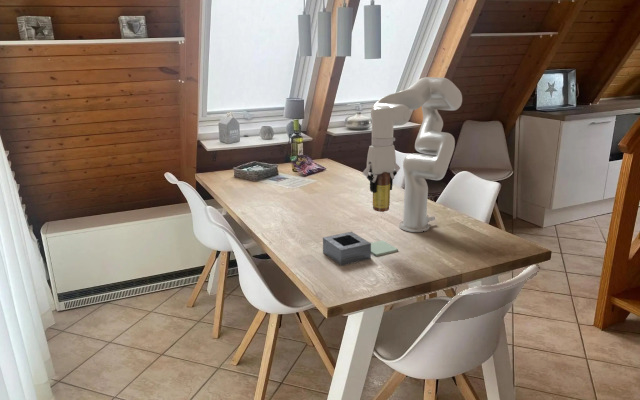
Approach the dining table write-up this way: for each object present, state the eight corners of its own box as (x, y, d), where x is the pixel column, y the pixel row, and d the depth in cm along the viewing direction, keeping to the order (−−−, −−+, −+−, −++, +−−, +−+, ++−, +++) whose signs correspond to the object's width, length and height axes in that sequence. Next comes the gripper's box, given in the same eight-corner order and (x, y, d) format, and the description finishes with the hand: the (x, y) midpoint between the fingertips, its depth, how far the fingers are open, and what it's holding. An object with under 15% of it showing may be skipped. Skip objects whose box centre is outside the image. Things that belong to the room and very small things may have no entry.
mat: (382, 242, 191) (382, 240, 191) (398, 251, 183) (398, 249, 183) (361, 247, 187) (361, 245, 187) (376, 256, 179) (376, 254, 178)
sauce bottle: (378, 206, 185) (380, 154, 179) (392, 209, 181) (394, 156, 175) (368, 210, 180) (370, 157, 174) (383, 213, 176) (385, 160, 170)
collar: (351, 246, 188) (351, 231, 186) (370, 258, 177) (371, 243, 175) (323, 252, 183) (322, 237, 181) (341, 265, 171) (341, 250, 169)
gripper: (395, 137, 180) (394, 184, 185) (355, 142, 172) (355, 191, 177) (408, 141, 173) (406, 189, 179) (367, 146, 166) (366, 196, 171)
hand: (381, 190), depth 178 cm, fingers closed on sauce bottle, 6 cm apart
